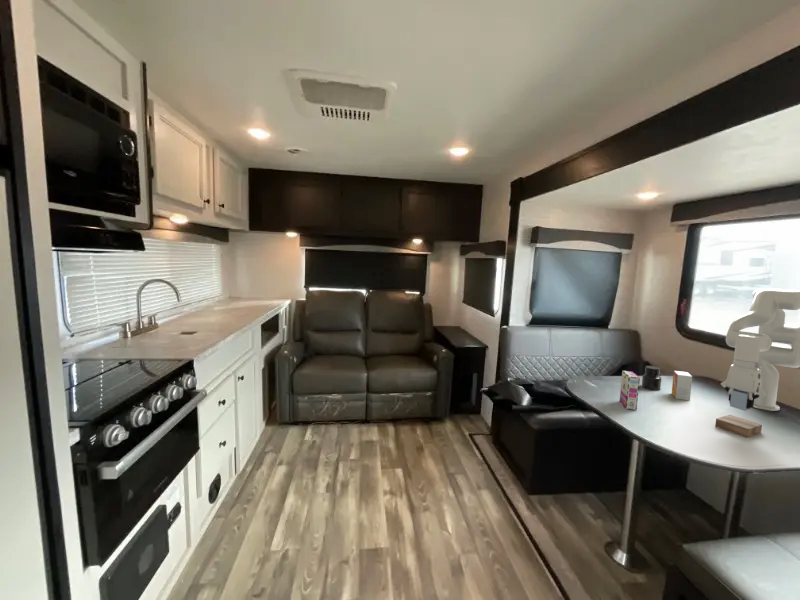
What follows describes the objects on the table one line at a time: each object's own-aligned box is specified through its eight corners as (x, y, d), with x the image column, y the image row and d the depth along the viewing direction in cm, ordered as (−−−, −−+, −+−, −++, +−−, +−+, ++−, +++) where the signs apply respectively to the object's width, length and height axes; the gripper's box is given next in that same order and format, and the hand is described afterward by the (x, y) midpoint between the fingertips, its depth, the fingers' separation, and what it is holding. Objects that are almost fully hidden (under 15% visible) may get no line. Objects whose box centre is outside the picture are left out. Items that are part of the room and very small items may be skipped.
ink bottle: (665, 390, 203) (667, 369, 201) (652, 391, 201) (654, 370, 199) (649, 384, 212) (651, 364, 211) (637, 385, 210) (638, 365, 209)
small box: (671, 393, 198) (673, 370, 196) (685, 395, 195) (687, 372, 194) (675, 398, 191) (677, 374, 189) (690, 400, 188) (692, 376, 187)
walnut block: (728, 423, 163) (729, 414, 163) (760, 433, 153) (761, 424, 153) (715, 427, 159) (716, 418, 158) (747, 438, 149) (748, 429, 148)
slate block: (735, 404, 158) (737, 388, 157) (750, 408, 153) (752, 392, 153) (729, 406, 156) (731, 390, 155) (744, 410, 151) (746, 394, 150)
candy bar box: (637, 410, 174) (640, 377, 172) (625, 409, 176) (628, 376, 174) (630, 402, 185) (632, 371, 183) (619, 401, 186) (621, 370, 185)
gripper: (777, 368, 146) (771, 411, 148) (725, 358, 162) (720, 397, 164) (768, 370, 143) (762, 414, 145) (716, 359, 159) (711, 399, 160)
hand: (740, 405), depth 154 cm, fingers closed on slate block, 5 cm apart
